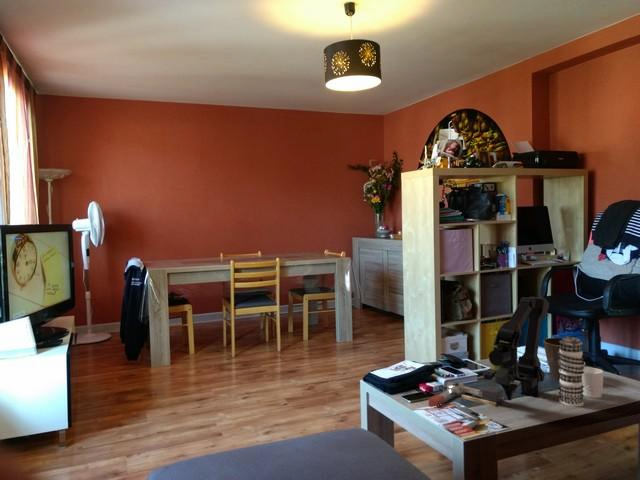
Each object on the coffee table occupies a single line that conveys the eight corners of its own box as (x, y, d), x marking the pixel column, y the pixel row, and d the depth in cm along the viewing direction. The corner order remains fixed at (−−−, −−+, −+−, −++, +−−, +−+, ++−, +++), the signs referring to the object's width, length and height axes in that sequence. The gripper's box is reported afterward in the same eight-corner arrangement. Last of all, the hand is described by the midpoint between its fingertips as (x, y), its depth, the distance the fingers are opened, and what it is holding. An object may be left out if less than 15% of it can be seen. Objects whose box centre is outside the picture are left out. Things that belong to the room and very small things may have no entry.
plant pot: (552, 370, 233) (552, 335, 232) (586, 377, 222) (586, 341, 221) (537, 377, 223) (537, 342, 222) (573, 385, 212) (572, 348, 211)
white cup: (602, 393, 203) (602, 368, 202) (604, 399, 196) (604, 374, 195) (580, 390, 206) (580, 366, 206) (581, 397, 199) (581, 372, 198)
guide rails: (503, 400, 198) (503, 397, 198) (495, 406, 192) (495, 403, 192) (470, 392, 207) (470, 389, 207) (461, 398, 202) (461, 395, 202)
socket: (502, 402, 197) (502, 389, 197) (496, 405, 193) (496, 393, 193) (487, 398, 201) (487, 386, 201) (481, 402, 197) (481, 389, 197)
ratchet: (483, 396, 203) (483, 386, 203) (457, 413, 187) (457, 402, 187) (452, 388, 213) (452, 379, 212) (424, 404, 196) (424, 393, 196)
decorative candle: (554, 397, 199) (553, 335, 198) (578, 398, 198) (578, 335, 197) (562, 406, 190) (562, 341, 189) (588, 406, 189) (588, 341, 188)
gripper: (476, 360, 192) (477, 400, 193) (525, 369, 179) (526, 412, 180) (489, 354, 200) (489, 392, 201) (537, 362, 187) (537, 403, 188)
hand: (509, 400), depth 192 cm, fingers closed
